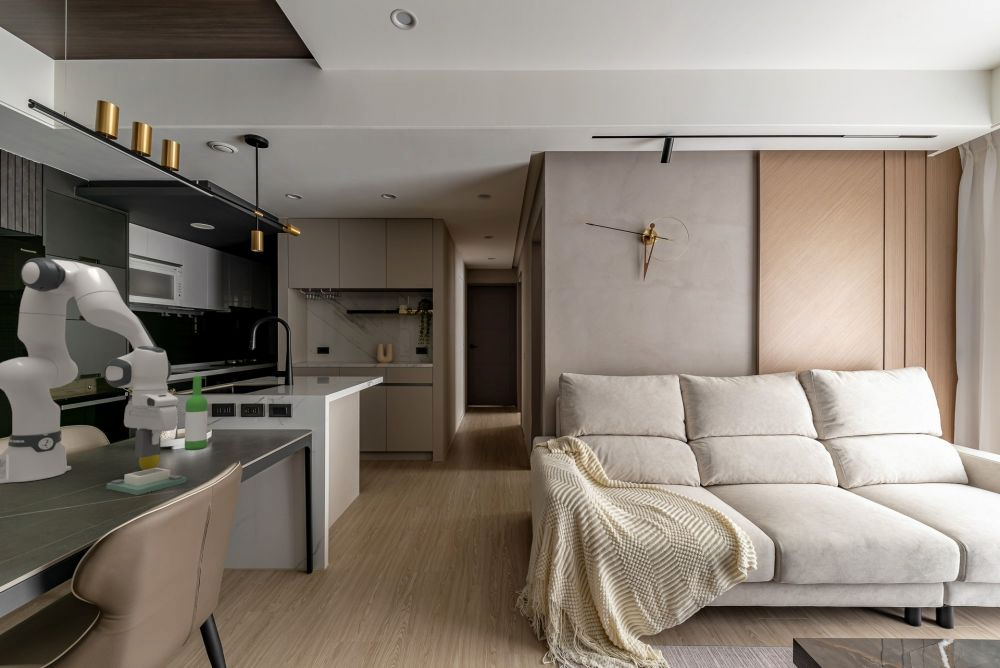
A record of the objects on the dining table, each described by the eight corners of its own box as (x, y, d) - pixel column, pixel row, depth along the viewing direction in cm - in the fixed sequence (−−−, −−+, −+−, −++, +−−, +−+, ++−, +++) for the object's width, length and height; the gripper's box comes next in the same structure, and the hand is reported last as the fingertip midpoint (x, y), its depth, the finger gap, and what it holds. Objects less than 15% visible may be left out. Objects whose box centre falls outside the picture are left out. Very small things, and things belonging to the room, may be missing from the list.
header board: (106, 488, 141) (106, 475, 141) (156, 476, 153) (156, 464, 154) (137, 495, 135) (138, 481, 135) (186, 482, 148) (186, 469, 148)
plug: (135, 456, 142) (135, 423, 143) (155, 452, 148) (155, 420, 148) (142, 457, 141) (142, 424, 141) (162, 453, 146) (163, 421, 147)
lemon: (139, 475, 154) (139, 451, 154) (138, 472, 158) (139, 448, 159) (159, 473, 158) (160, 449, 158) (158, 469, 162) (159, 446, 162)
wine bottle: (190, 451, 190) (192, 377, 190) (180, 448, 194) (182, 376, 194) (210, 447, 196) (212, 376, 197) (200, 445, 200) (202, 375, 201)
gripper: (118, 398, 146) (117, 442, 146) (160, 401, 138) (159, 448, 138) (140, 396, 152) (139, 438, 151) (181, 399, 144) (181, 444, 144)
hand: (149, 443), depth 144 cm, fingers closed on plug, 3 cm apart
